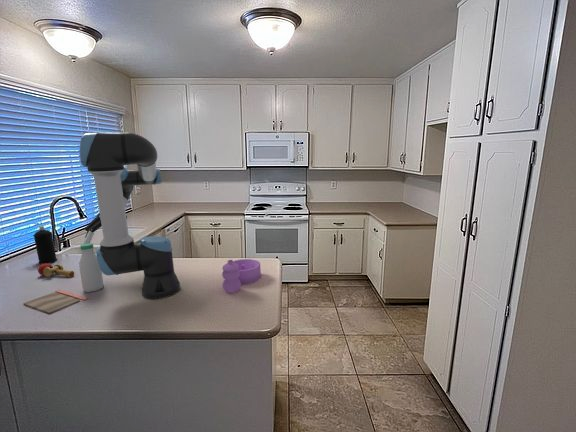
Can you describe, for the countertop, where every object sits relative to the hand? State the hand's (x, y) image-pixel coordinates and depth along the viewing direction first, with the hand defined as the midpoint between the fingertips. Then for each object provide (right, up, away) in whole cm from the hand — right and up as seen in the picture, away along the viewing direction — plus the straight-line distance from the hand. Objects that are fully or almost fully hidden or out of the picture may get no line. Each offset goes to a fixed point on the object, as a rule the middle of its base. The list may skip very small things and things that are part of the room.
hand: (99, 245), depth 142 cm
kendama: (-27, -16, +11) cm, 34 cm away
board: (-9, -21, -17) cm, 29 cm away
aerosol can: (-48, -12, +32) cm, 59 cm away
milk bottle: (0, -19, -4) cm, 19 cm away
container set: (+63, -17, -1) cm, 66 cm away
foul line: (-5, -20, -11) cm, 23 cm away
